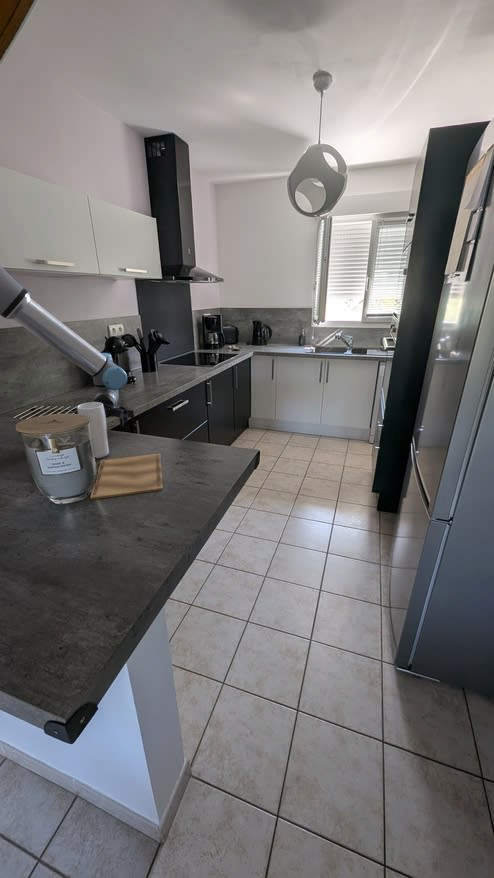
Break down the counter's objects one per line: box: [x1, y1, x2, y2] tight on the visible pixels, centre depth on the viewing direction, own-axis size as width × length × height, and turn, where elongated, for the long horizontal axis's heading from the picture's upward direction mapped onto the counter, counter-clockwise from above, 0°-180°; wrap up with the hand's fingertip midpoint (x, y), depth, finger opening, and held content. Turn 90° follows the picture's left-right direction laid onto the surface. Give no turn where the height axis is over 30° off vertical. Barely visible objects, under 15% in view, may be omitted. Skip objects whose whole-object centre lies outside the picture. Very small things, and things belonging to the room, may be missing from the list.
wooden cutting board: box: [89, 453, 164, 501], centre depth 91 cm, size 20×16×1 cm
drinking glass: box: [76, 401, 110, 459], centre depth 100 cm, size 7×7×15 cm
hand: (96, 425), depth 103 cm, fingers open, 13 cm apart
